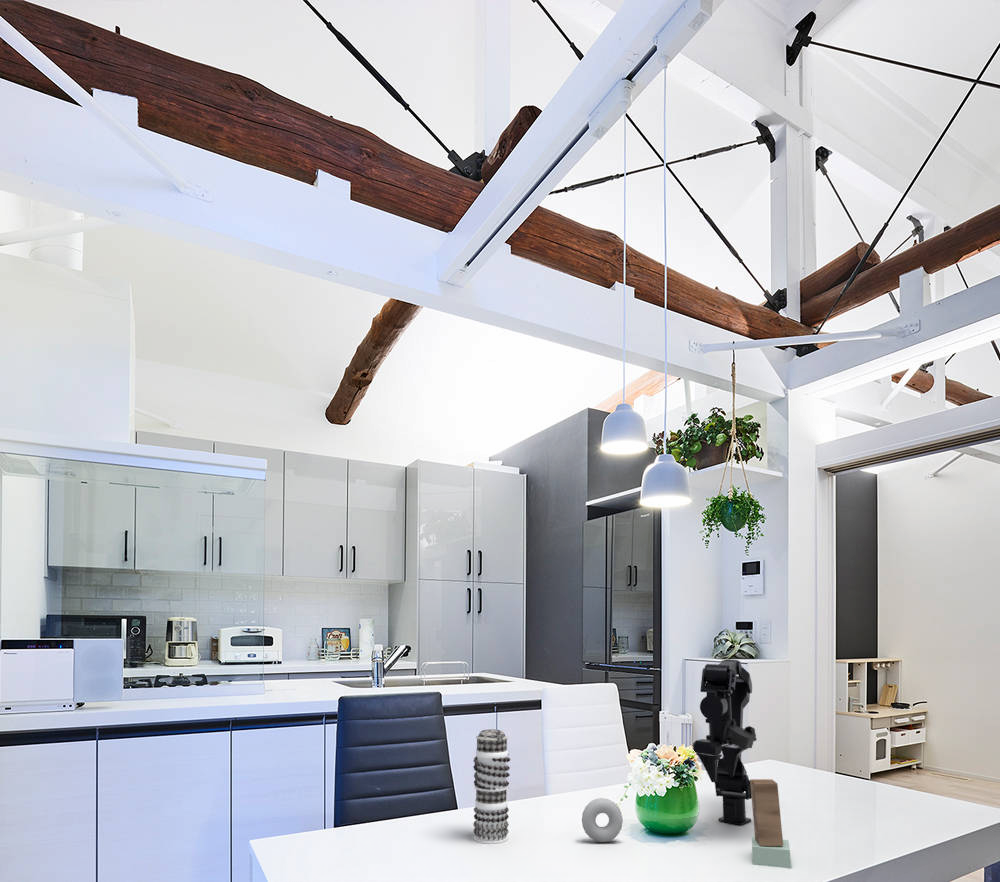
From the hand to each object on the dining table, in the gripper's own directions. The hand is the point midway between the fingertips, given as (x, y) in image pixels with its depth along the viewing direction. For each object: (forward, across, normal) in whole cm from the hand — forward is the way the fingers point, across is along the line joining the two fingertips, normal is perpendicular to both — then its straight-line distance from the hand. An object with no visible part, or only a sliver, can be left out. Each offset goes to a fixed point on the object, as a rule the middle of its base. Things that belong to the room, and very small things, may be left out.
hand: (722, 779), depth 200 cm
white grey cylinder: (+13, -44, +39) cm, 60 cm away
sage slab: (+13, -11, -17) cm, 24 cm away
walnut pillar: (+9, -11, -17) cm, 22 cm away
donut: (+13, -27, +18) cm, 35 cm away
